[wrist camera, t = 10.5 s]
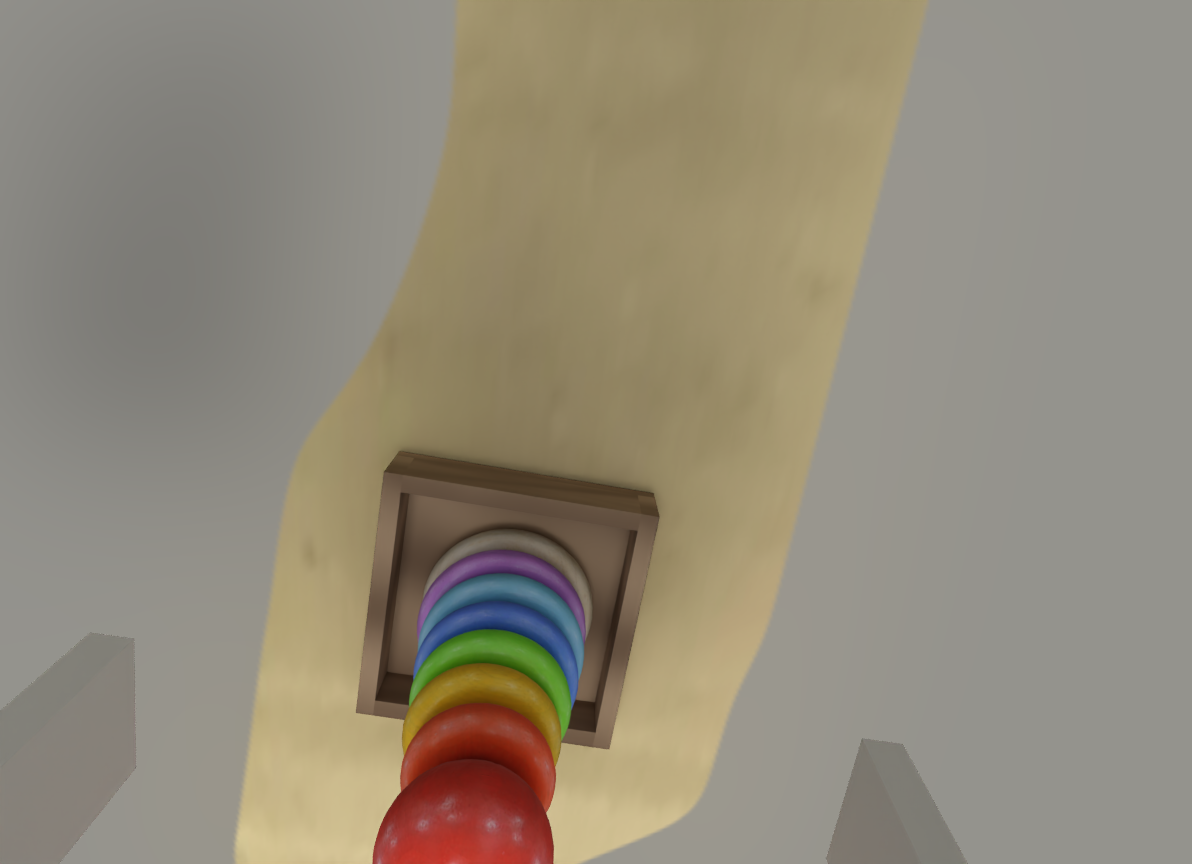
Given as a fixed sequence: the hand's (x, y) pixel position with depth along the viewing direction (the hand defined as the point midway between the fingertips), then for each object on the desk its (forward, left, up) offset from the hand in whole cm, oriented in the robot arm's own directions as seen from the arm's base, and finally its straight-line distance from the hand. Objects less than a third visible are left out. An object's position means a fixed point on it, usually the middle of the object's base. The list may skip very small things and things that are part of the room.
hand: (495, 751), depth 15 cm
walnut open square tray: (+6, +6, -23) cm, 25 cm away
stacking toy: (+7, +6, -23) cm, 24 cm away
